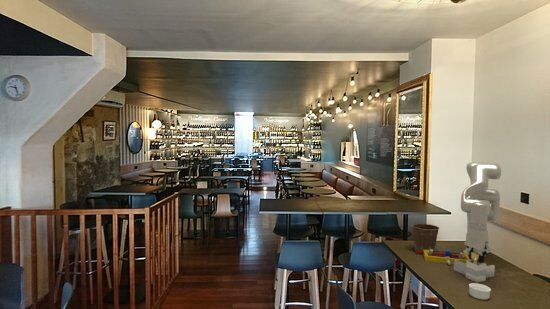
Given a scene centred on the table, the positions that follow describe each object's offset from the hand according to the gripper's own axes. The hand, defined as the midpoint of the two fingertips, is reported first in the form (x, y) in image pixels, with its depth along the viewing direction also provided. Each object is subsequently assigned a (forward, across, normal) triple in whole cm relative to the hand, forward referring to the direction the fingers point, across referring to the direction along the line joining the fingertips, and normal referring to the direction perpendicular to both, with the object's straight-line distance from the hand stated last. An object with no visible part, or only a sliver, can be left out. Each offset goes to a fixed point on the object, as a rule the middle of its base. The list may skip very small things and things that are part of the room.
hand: (476, 260), depth 185 cm
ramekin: (+10, +15, -16) cm, 24 cm away
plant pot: (+10, -45, +10) cm, 47 cm away
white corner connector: (+10, -5, +5) cm, 12 cm away
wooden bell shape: (+7, 0, 0) cm, 7 cm away
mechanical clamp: (+11, -27, +7) cm, 30 cm away
